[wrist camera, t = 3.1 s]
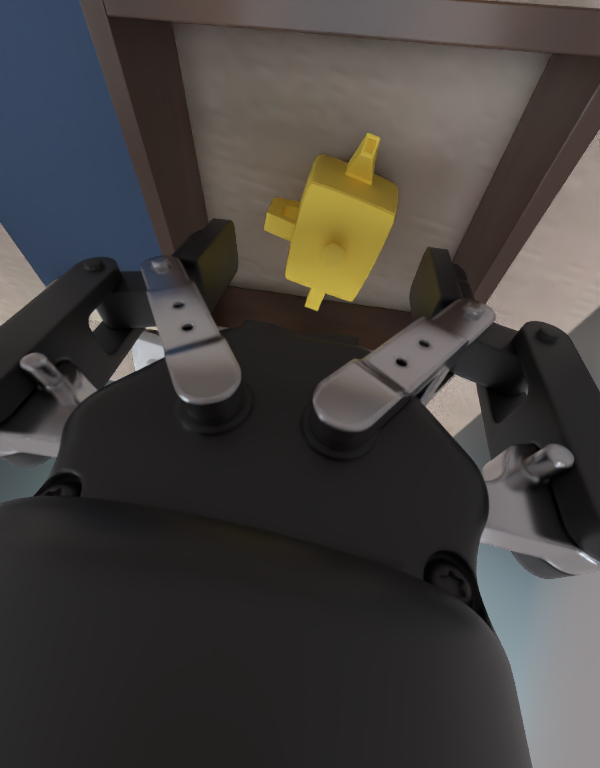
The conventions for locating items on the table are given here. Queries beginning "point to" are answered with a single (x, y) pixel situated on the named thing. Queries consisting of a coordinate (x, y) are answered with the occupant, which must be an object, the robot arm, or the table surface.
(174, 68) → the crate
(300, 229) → the teapot
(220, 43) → the table surface
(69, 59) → the bed mat
